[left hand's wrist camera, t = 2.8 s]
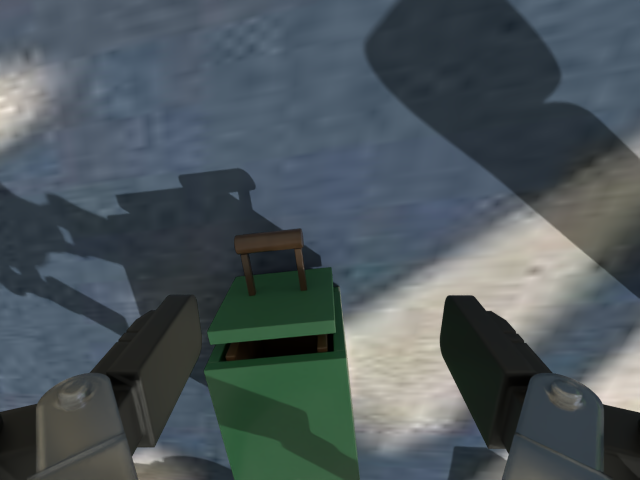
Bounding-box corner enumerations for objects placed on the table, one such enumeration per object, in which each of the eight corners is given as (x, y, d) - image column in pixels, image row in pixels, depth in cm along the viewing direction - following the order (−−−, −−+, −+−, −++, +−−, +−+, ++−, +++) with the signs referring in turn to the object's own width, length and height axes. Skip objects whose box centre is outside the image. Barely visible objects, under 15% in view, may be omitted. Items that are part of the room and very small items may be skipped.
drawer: (224, 223, 34) (188, 264, 25) (325, 212, 34) (326, 249, 25) (262, 399, 41) (245, 479, 32) (345, 392, 41) (352, 471, 32)
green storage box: (237, 296, 38) (203, 370, 27) (339, 286, 37) (346, 357, 27) (264, 418, 44) (245, 520, 33) (353, 411, 43) (363, 511, 32)
